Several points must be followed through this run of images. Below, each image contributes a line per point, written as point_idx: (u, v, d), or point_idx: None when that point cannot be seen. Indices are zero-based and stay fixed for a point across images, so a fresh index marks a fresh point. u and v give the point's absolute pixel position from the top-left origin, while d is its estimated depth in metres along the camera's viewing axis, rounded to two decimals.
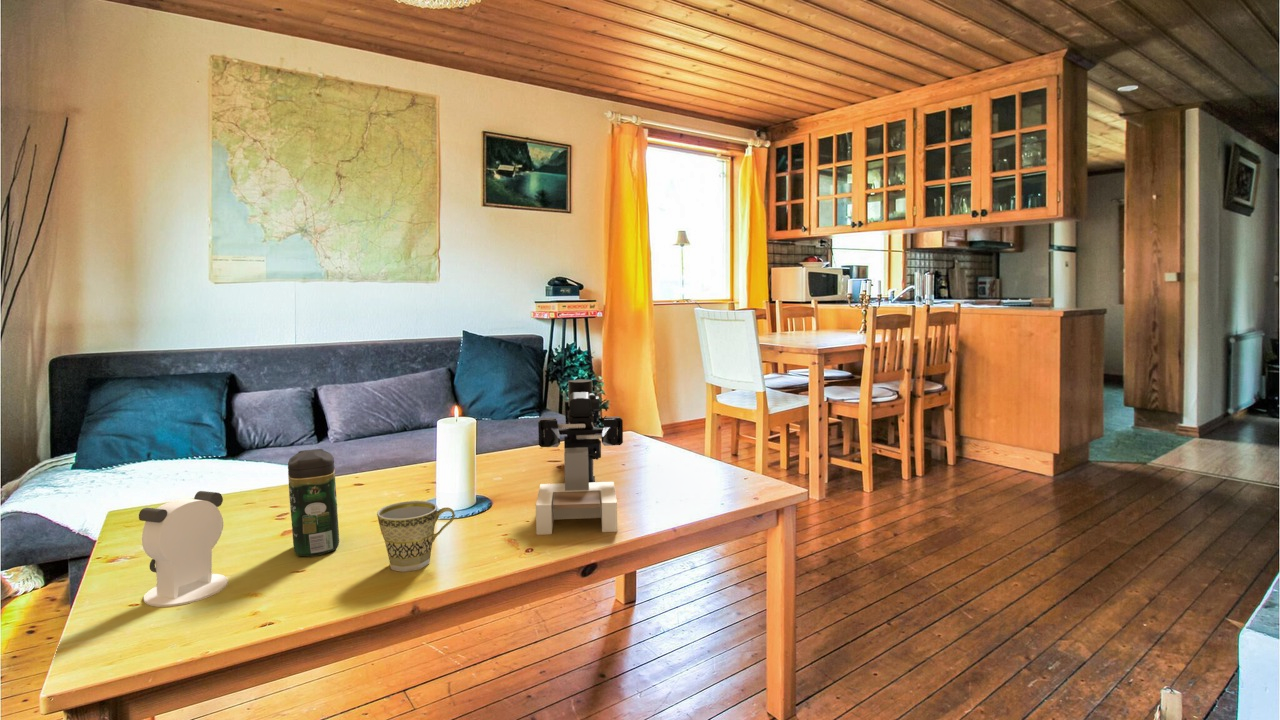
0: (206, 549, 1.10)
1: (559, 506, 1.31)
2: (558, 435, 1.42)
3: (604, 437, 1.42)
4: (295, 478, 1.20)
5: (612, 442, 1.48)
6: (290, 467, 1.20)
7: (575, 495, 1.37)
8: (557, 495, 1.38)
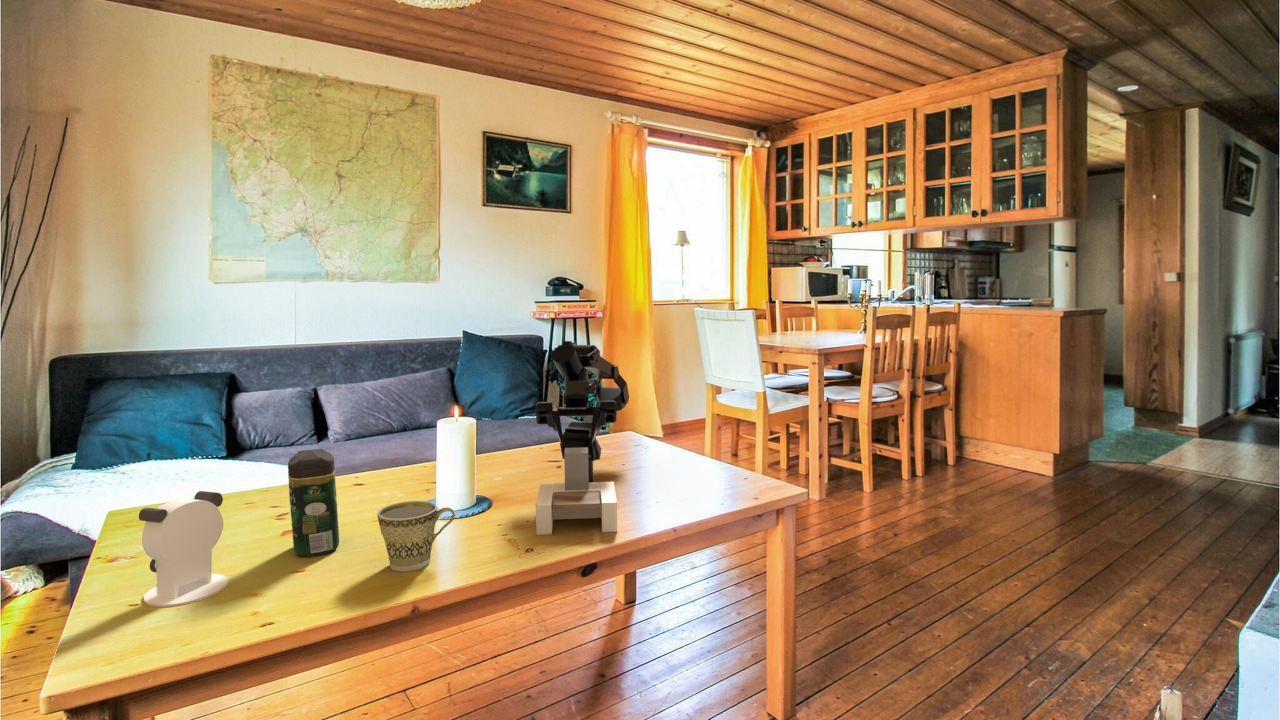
0: (206, 549, 1.10)
1: (559, 506, 1.31)
2: (561, 436, 1.51)
3: (593, 438, 1.52)
4: (295, 478, 1.20)
5: (601, 424, 1.57)
6: (290, 467, 1.20)
7: (575, 495, 1.37)
8: (557, 495, 1.38)
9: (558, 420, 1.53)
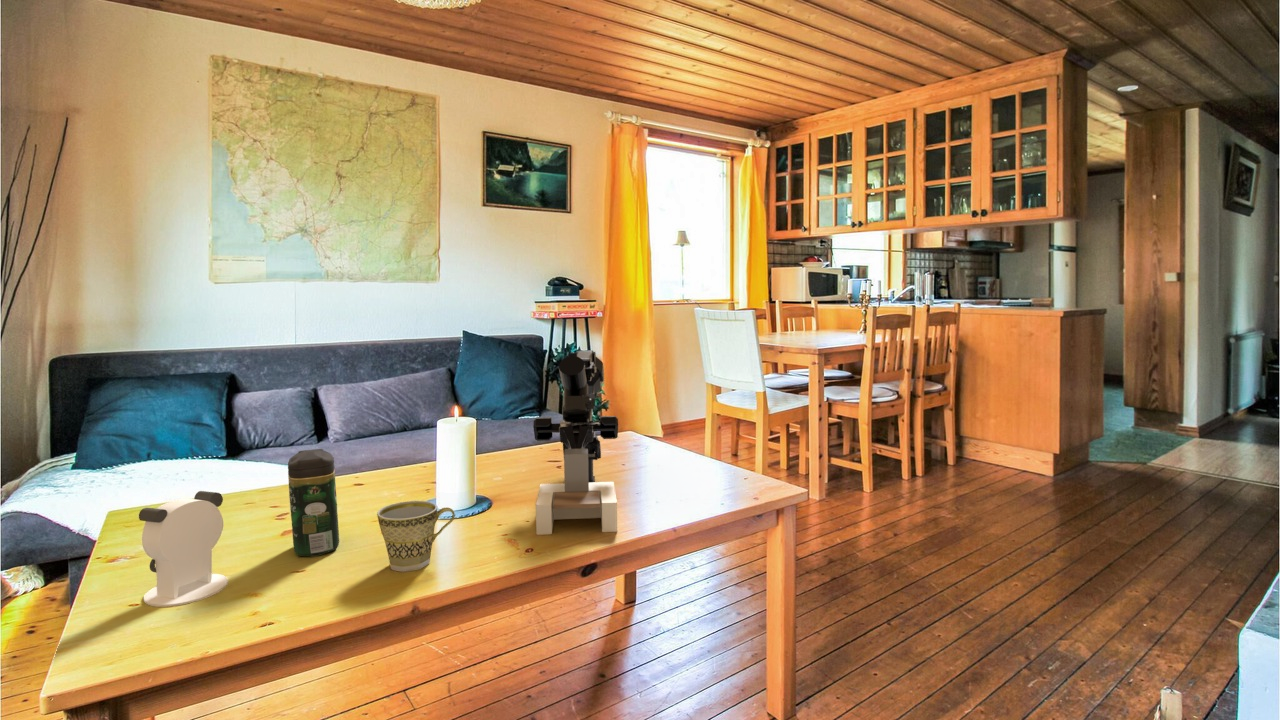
0: (206, 549, 1.10)
1: (559, 506, 1.31)
2: None
3: None
4: (295, 478, 1.20)
5: (587, 440, 1.50)
6: (290, 467, 1.20)
7: (575, 495, 1.37)
8: (557, 495, 1.38)
9: (571, 436, 1.47)
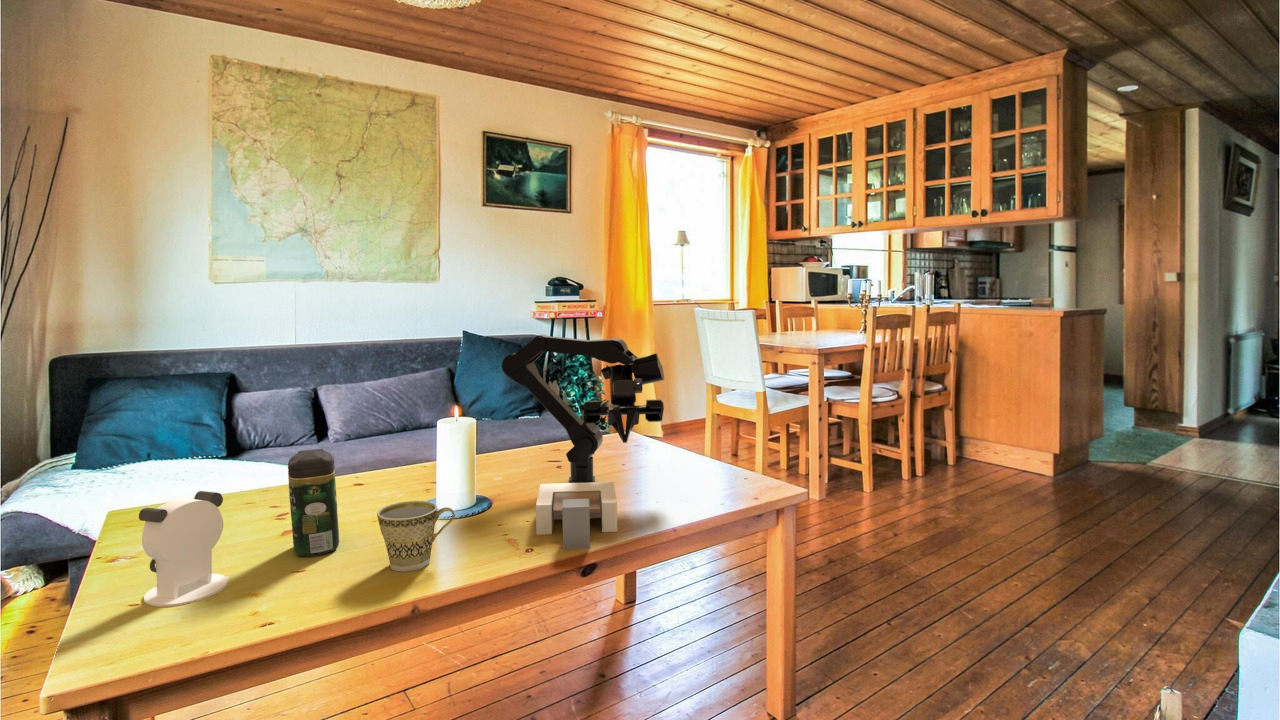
0: (206, 549, 1.10)
1: (559, 511, 1.32)
2: (623, 434, 1.52)
3: (627, 438, 1.52)
4: (295, 478, 1.20)
5: (634, 423, 1.58)
6: (290, 467, 1.20)
7: (575, 497, 1.37)
8: (557, 496, 1.38)
9: (620, 419, 1.54)
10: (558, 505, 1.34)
